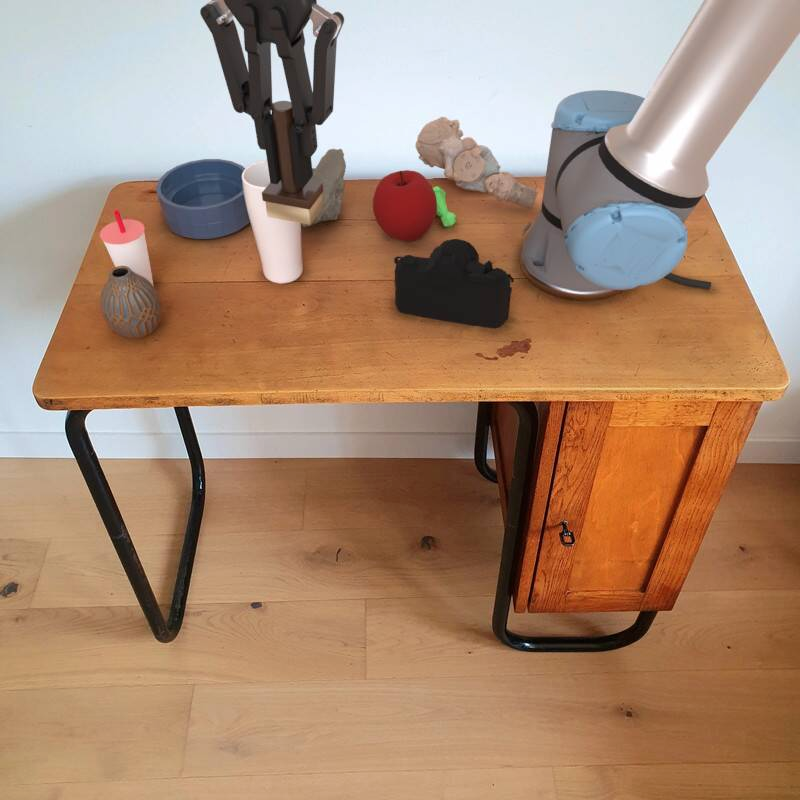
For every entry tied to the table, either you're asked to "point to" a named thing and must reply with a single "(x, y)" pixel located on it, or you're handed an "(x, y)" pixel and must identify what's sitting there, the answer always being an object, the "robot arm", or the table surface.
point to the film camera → (453, 286)
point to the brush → (289, 176)
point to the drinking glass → (271, 229)
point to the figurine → (469, 163)
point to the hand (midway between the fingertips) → (291, 179)
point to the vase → (130, 303)
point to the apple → (405, 205)
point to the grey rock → (330, 184)
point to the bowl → (203, 198)
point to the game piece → (443, 208)
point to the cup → (127, 245)
